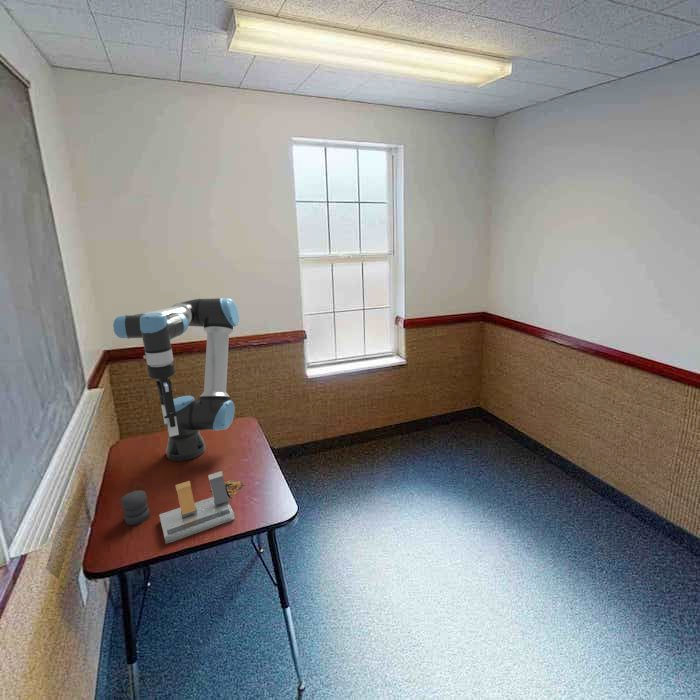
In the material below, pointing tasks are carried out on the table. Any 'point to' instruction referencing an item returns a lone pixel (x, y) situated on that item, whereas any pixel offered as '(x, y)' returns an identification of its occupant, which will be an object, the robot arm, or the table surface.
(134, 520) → the grey stacked discs
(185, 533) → the panel
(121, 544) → the table surface
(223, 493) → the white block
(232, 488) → the butterfly model
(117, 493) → the table surface
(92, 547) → the table surface
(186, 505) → the paddle orange
